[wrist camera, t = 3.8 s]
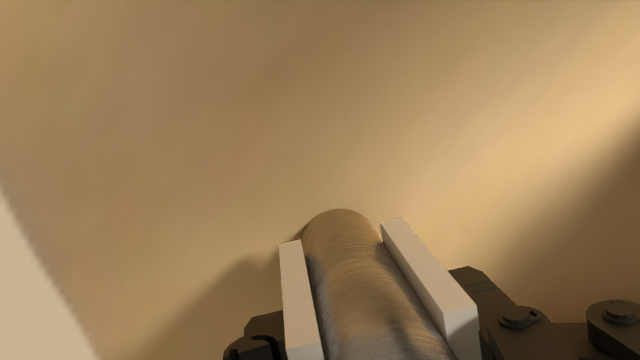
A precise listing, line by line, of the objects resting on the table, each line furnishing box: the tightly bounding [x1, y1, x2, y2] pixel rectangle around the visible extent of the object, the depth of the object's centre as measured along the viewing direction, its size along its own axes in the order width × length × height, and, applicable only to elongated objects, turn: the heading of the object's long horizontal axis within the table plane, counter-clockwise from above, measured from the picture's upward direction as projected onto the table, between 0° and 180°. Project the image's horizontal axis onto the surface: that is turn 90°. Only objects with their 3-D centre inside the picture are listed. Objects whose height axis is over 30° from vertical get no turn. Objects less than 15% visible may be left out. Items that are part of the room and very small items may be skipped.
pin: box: [300, 209, 458, 360], centre depth 14 cm, size 3×3×12 cm
